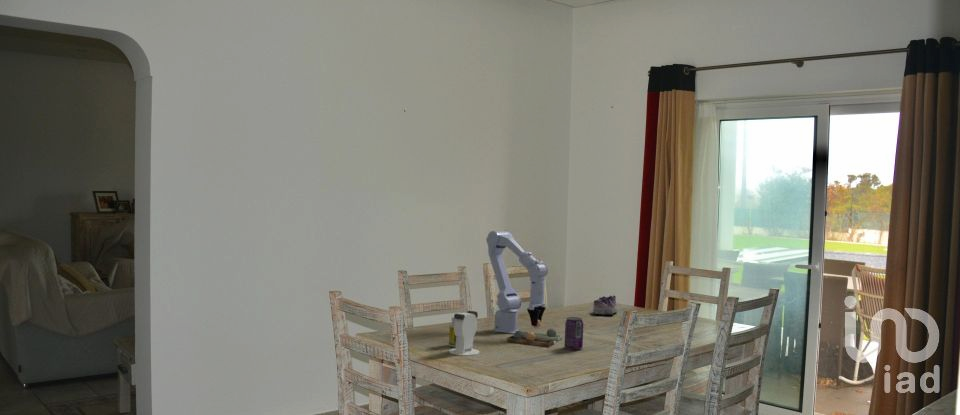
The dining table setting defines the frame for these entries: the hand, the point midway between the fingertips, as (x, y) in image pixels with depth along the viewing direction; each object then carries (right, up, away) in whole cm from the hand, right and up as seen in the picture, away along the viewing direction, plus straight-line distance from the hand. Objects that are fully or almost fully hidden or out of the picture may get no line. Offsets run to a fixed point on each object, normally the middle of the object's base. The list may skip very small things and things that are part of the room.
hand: (535, 324), depth 319 cm
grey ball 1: (-8, -3, -10) cm, 13 cm away
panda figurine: (-29, -6, -32) cm, 44 cm away
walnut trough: (-3, -6, -12) cm, 13 cm away
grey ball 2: (+6, -3, -3) cm, 8 cm away
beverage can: (+13, -7, -19) cm, 24 cm away
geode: (+40, -5, +67) cm, 78 cm away
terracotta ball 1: (-3, -3, -12) cm, 13 cm away
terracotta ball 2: (0, 0, 0) cm, 1 cm away
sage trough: (+1, -5, -3) cm, 6 cm away
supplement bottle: (-33, -5, -22) cm, 40 cm away
